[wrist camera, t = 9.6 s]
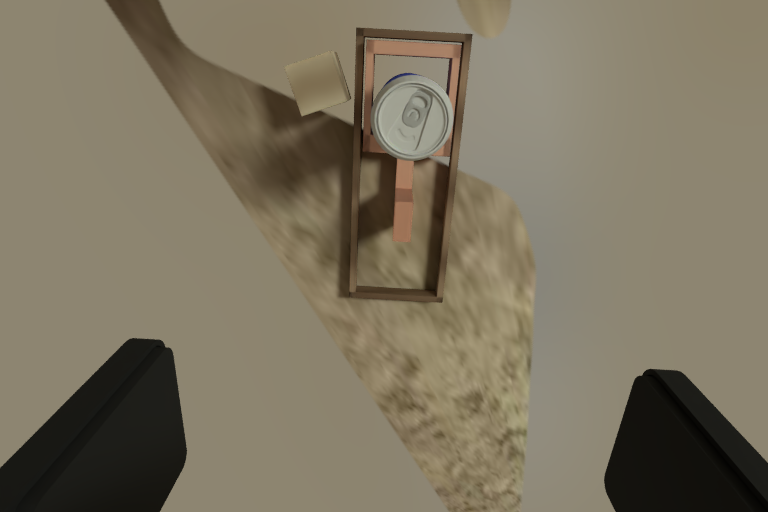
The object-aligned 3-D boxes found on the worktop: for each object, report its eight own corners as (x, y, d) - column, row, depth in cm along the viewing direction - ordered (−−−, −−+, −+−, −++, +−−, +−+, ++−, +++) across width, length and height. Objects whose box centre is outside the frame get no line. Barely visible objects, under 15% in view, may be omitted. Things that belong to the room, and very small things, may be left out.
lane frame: (357, 29, 40) (356, 27, 38) (469, 35, 39) (472, 34, 38) (350, 290, 49) (349, 297, 48) (440, 295, 49) (442, 302, 47)
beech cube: (294, 67, 41) (283, 66, 37) (336, 52, 40) (330, 50, 37) (310, 112, 42) (301, 116, 39) (351, 98, 42) (346, 101, 38)
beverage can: (419, 142, 43) (430, 177, 29) (369, 118, 42) (356, 142, 28) (445, 89, 41) (470, 99, 27) (393, 62, 40) (391, 59, 27)
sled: (368, 41, 40) (363, 36, 34) (457, 46, 40) (468, 42, 34) (362, 216, 46) (356, 238, 40) (439, 221, 46) (446, 244, 40)
